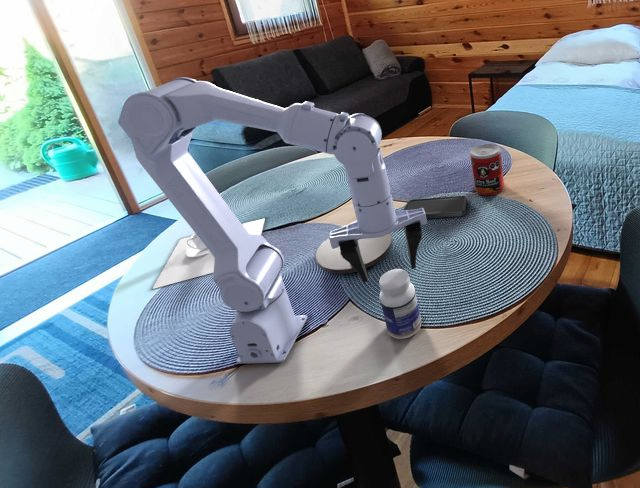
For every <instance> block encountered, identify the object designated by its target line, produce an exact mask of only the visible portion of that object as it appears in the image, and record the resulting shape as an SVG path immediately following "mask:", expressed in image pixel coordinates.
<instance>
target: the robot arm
mask: <svg viewBox="0 0 640 488" xmlns="http://www.w3.org/2000/svg"><path fill="white" fill-rule="evenodd" d="M214 121H215V122H216V121H218V122H224V123H229V124H233V125H240V126H245V127H249V128H254V129H258V130H259V129H260V130H264V131H270V132H275V133H277V134H278V135H279V136H280V138H281V139H282V141H283V142H284V143H285V144H288V145H292V146H296V147H301V148H303V149H308V150H312V151H316V152H319V153H320V152H321V153H325V154H328V155H334V158H335V159H336V160H337V161H338V162H339V163H340V164H341V165H343V168H344V172H345V177H346V182H347V186H348V190H349V193H350V197H351V201H352V206H353V210H354V212H355V218H356V220H355V221H352V222H351V223H348V224H346V225H344V226H342V227H339V228H336V229H334V230H330V231H329V232H328V238H329V240H330V243H331V247H332V249H334V248H338V247H339V246H340V253H341V256H342V257H343V258H344V259H345V260H346V261H348V262H349V263H350V264H351V265H352V266H353V267H354V268H355V269H356V272H357V274H358V275H359V277H360V279H361V281H362V283H368V282H369V280H368V279H369V278H368V273H367V268H365V265H364V262H363V259H362V256H361V253H360V249H359V244H358V240H359V239H368V238H378V237H382V236H385V235H387V234H390V233H391V234H392V233H394V232H396V231H398V230H401V229H403V231H404V235H405V240H406V246H407V254H408V255H407V256H408V260H409V263H410V264H409V265H410V268H411V270H414V269H416V268H417V254H418V249H419V246H420V243H421V241H422V237H423V229H422V226H425V225H428V220H427V219H428V218H426V214H425V211H424V209H423V208H420V209H415V210H404V209H403V210H396V209H395V205H394V200H393V195H392V190H391V187H390V182H389V181H390V180H389V177H388V172H387V167H386V163H385V162H384V156H383V153H382V148H381V147H379V146H380V144H381V141H382V135H383V132H382V128H381V125H380V123H379V122H378V121H377V120H376V119H375V118H373V117H371V116H369V115H366V114H365V113H362V112H361V113H360V112H359V113H354V114H352V115H350V113H348V112H345V111H341V113H337V112H333V111H329V110H325V109H321V108H318V107H315V103H314V102H311V101H309V100H308V101H307V100H305V101H304V102H303V103H299V102H295V103H293V104H290V105H289V106H288V107H285V108H284V107H281V106H278V105H275V104H272V103H268V102H265V101H262V100H259V99H255V98H253V97H249V96H246V95H243V94H240V93H236V92H233V91H230V90H227V89H223V88H221V87H218V86H216V85H215V84H213V83H212V82H209V81H205V80H198V81H197V80H196V79H193V78H191V77H185V76H181V77H176V78H173V79H171V80H169V81H168V82H166V83H163V84H161V85H159V86H156V87H153V88H150V89H148V90H146V91H140V92H137V93H134V94H131V95H129V97H128V98H126V100H125V101H124V103H123V105H122V108H121V111H120V113H119V118H118V120H117V124H118V125H119V127H121V130H123V131H124V133H125V134H126V136H128V138H129V139H130V141H131V144H132V148H133V151H134V154H135V157H136V159H137V161H138V163H139V164H140V165H141V166H142V168H143V169H144V170H145V171H146V173H147V174H148V175H149V177H150V178H151V179H152V180H153V182H154V183H155V184H156V185H157V187H158V188H159V190H160V191H162V193H163V194H164V196H166V198H167V199H168V201H169V203H171V204H172V206H173V207H174V208H175V209H176V210H177V212H178V213H179V214H180V215H181V217H182V219H184V222H186V223H187V225H189V227H190V228H191V229H192V231H193V232H194V233H196V234H197V236H198V237H199V238H200V239H201V241H202V242H203V243H204V244H205V246H206V247H207V248H208V250H209V251H210V252H211V253H212V255H213V256H214V257H215V263H214V272H213V273H212V280H213V282H214V284H215V285H216V286H217V287H218V289H219V294H220V298H221V300H222V302H223V303H224V304H225V306H227V307H228V308H230V309H231V310H234V311H236V314H235V317H234V320H233V322H232V324H231V326H230V329H229V336H230V338H231V341H232V343H233V345H234V348H235V350H236V352H237V355H238V357H237V358H236V360H235V362H236V364H238V365H240V364H241V365H242V364H270V363H271V364H273V363H274V364H275V363H283V362H284V361H286V359H287V356H289V353H290V351H291V350H292V348H293V346H294V344H295V342H296V340H297V338H298V337H299V335H300V333H301V332H302V329H303V328H304V326H305V324H306V322H307V320H308V315H305V314H303V315H295V313H294V309H293V306H292V304H291V301H290V298H289V294H288V291H287V289H286V286H285V284H284V280H283V276H282V272H281V271H282V270H283V268H284V265H285V256H284V254H283V252H281V250H280V249H279V248H277V247H276V246H274V245H272V244H271V243H269V242H268V241H267V239H266V238H265V237H264V236H263V235H262V234H261V235H251V234H248V232H247V231H246V230H245V228H244V227H243V225H242V224H243V223H241V221H240V220H239V219H238V217H237V216H236V215H235V213H234V211H233V210H232V209H231V208H230V206H229V205H228V204H227V203H226V201H225V200H224V198H223V197H222V196H221V194H220V193H219V192H218V190H217V189H216V187H215V186H214V184H213V183H212V182H211V181H210V180H209V178H208V177H207V175H206V174H205V173H204V171H203V170H202V168H201V167H200V165H199V164H198V163H197V162H196V161H195V159H194V158H193V156H192V155H191V154H190V152H189V150H188V149H189V146H190V143H191V140H192V137H193V134H194V131H195V130H196V128H197V127H199V126H202V125H206V124H208V123H211V122H214Z"/></svg>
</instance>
